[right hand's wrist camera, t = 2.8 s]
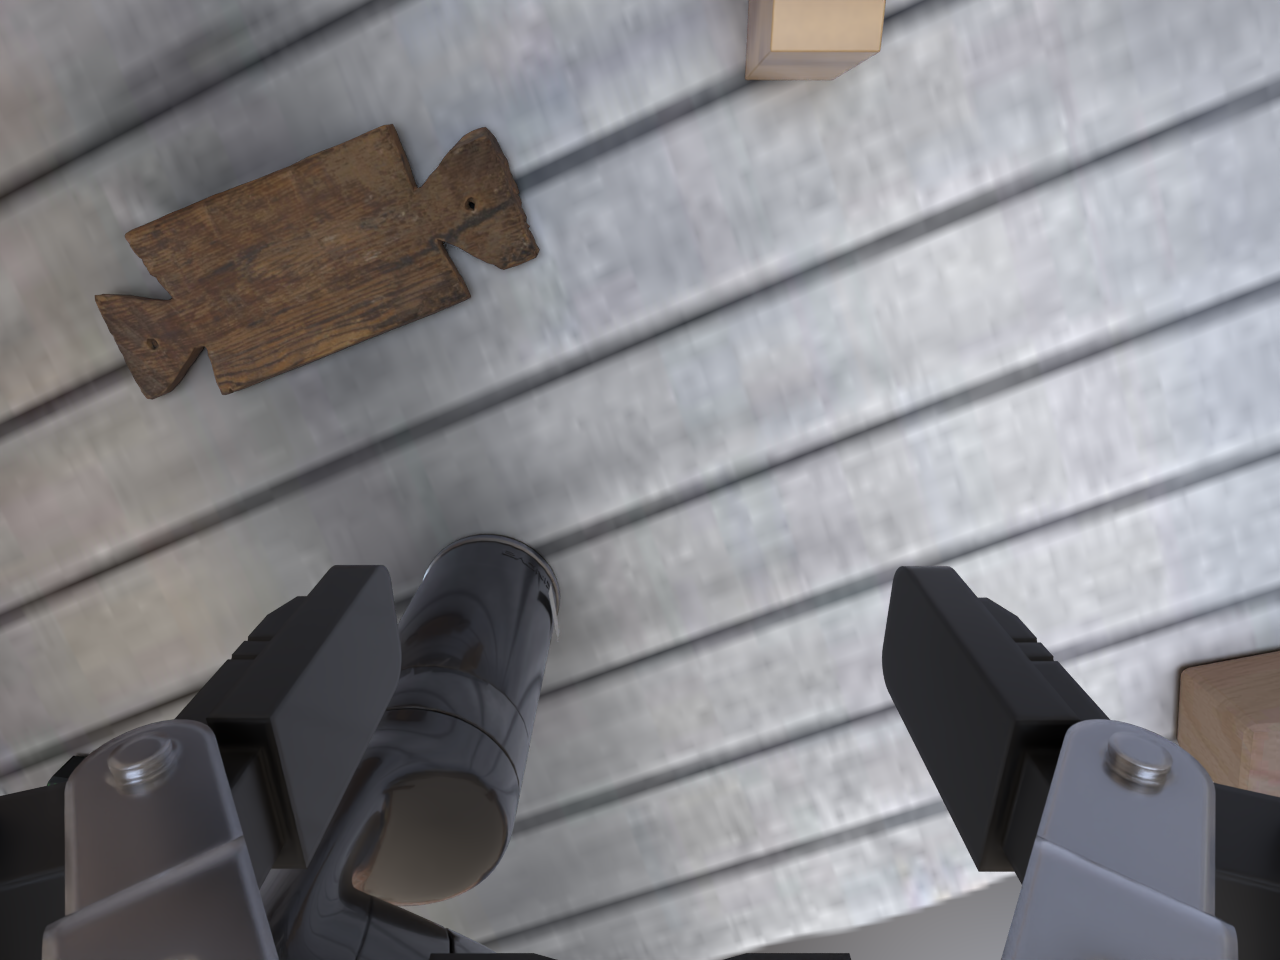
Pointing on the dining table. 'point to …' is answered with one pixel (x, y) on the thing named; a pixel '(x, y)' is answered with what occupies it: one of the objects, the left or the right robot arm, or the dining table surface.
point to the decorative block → (1234, 721)
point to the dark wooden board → (314, 259)
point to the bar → (811, 37)
